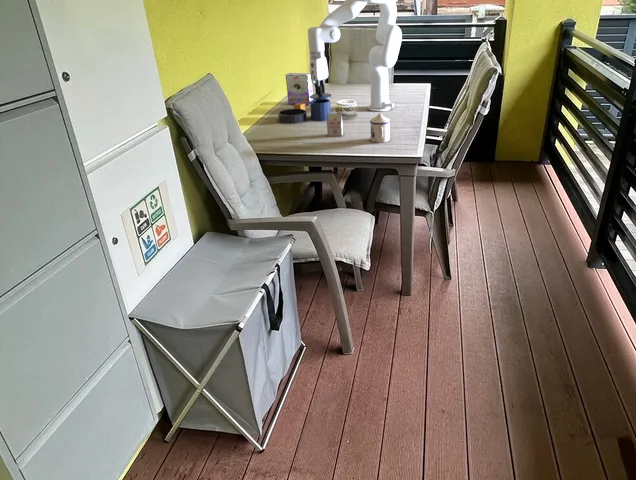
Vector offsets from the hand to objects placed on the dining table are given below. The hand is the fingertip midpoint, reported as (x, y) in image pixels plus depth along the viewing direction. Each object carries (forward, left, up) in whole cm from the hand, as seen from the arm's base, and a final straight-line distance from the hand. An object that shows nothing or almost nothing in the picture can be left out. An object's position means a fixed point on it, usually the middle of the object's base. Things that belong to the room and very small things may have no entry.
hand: (320, 93), depth 274 cm
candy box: (+30, -23, -13) cm, 40 cm away
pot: (0, 0, -13) cm, 12 cm away
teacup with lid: (-48, +22, -13) cm, 54 cm away
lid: (0, 0, -2) cm, 2 cm away
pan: (+12, +9, -13) cm, 20 cm away
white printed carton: (-24, +23, -13) cm, 36 cm away
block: (+18, -6, -13) cm, 23 cm away
